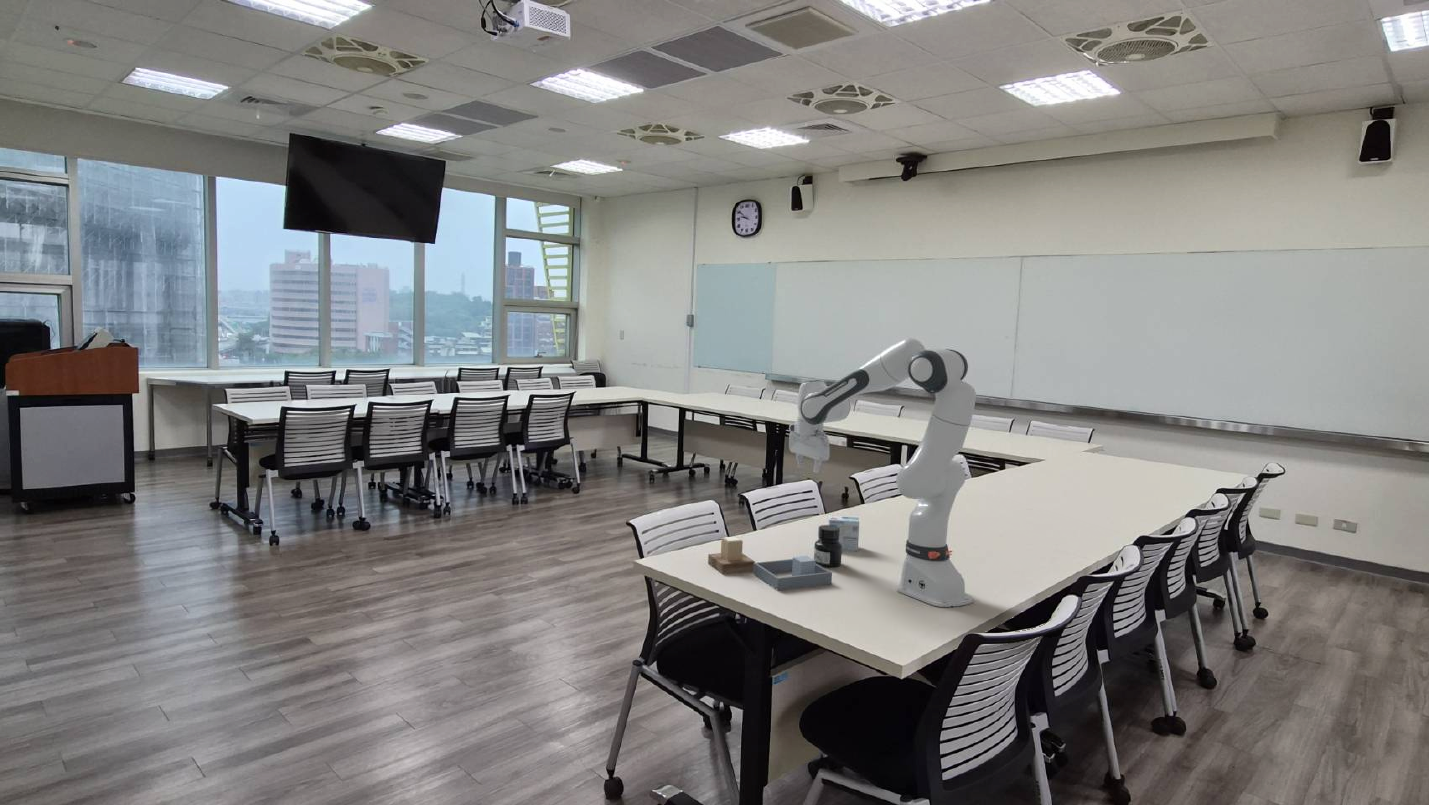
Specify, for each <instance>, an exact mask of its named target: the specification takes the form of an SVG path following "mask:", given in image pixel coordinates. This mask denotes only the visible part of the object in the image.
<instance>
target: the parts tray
mask: <svg viewBox="0 0 1429 805" xmlns="http://www.w3.org/2000/svg"><path fill="white" fill-rule="evenodd" d="M792 564H793V558H789V559H787V558H786V559H779V560H769V561H759V562H755V563H753V571H752V575H754V576H755V575H756V576H755V577H757V578H758V577H759V578H758V579H760V580H761V581H763V580H764V581H765V582H764V581H763V582H764V583H766V584H767V583H768V584H769V585H768V584H767V585H768V586H769V587H771V586H773V587H774V588H776V589H777V590H776V589H775V590H776V591H782V590H781V589H785V590H790V589H791V588H793V589H802V588H810V587H817V586H826V585H832V582H833V581H832V580H833V572H831V571H830V570H828V569H826V567H823V566H820V565H818V564H816V563H815V574H807V575H798V576H792V575H791V576H782V577H781V576H779V577H778V576H777V575H776V574H774V573H781V572H782V573H783V572H792ZM773 587H772V588H773ZM799 587H800V588H799ZM801 587H802V588H801ZM774 588H773V589H774ZM789 588H790V589H789ZM779 589H780V590H779Z"/></svg>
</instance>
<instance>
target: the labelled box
mask: <svg viewBox="0 0 1429 805" xmlns="http://www.w3.org/2000/svg"><path fill="white" fill-rule="evenodd" d="M720 542H721V544H720V545H721V546H720V547H721V548H720V553H721V557H723V558H724V559H726V560H727V561H731V560H741V559H742V553H743V540H742V539H740V538H739V537H737V536H726V537H724V536H723V537H721V541H720Z"/></svg>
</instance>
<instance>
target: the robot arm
mask: <svg viewBox="0 0 1429 805" xmlns="http://www.w3.org/2000/svg"><path fill="white" fill-rule="evenodd" d="M968 369H969V363H968V360H967V358H966V357H965V356H964V355H963V353H961V352H959V351H957V350H953V349H949V348H947V349H942V348H935V349H928V350H927V349H926V348H925V346H924V345H923V343H922V342H921V341H919V340H918V339H916V338H912V337H907V338H904V339H901V340H899V341H897V342H895V343H893V344H892V345H890V346H888V347H886V348H885V349H883V350H882V351H881V352H879V353H877V354H876V355H875V356H873V357H872V358H870V359H869V360H868V361H867V362H865V363H863V365H861V366H860V367H858V368H857V369H855V370H854V371H852V372H851V373H849V374H847V375H846V376H843V377H842V378H840V379H839V380H837V381H835V382H834V383H832V384H831V385H829V386H827V385H826V383H825V381H823V380H819V379H817V380H807V381H803V382H802V383H801V384H800V385H799V390H798V394H797V395H798V396H797V410H798V414H797V417H796V422H794V423H791V424H790V425H789V426H788V431H789V436H788V448H789V451H790V453H793V454H795V457H796V462H797V467H798V468H800V469H801V468H805V462H804V459H803V457H805V458H806V457H807V458H810V459H813V462H814V466H812V469H811V470H812V472H813V473H817V474H819V473H820V467H821V465H822V464H823V462H825V461H828V460H829V459H830V456H831V455H830V440H829V438H828V436H827V434H826V432H825V431H824V425H825V423H834V422H840V421H843V420H845V419H847V418H848V416H849V414H850V412H851V403H850V402H851V401H850V400H849V399H851V398H853V397H854V396H857V395H862V394H865V393H867V394H868V393H874V392H882V391H885V390H886V391H887V390H888V389H891V388H893V387H896V386H898V385H899V384H901V383H902V382H904V381H905V380H907V379H908V378H910V380H911V381H912V382H913V383H915V385H916V386H918V387H920V388H922V389H923V390H924V391H925V392H927V393H928V394H929V395H930V394H931V395H933V394H934V395H935V402H934V405H933V409H932V411H931V414H930V417H929V421H928V424H927V426H926V429H925V433H924V435H923V438H922V439H921V441H920V443H919V445H918V447H917V448H916V450H915V451H914V453H913V454H912V456H911V458H910V459H909V460H908V462H906V464H905V465H904V466H902V467H901V468H900V469H899V470H898V472H897V474H896V476H895V477H896V480H895V481H896V482H895V483H896V487H897V489H898V491H899V493H900V494H901V495H902V496H903V497H904V498H907V499H912V500H918V501H917V503H916V504H915V507H914V509H913V510H912V511H911V513H910V515H909V518H908V520H909V521H908V522H909V523H908V536H907V540H906V542H905V543H906V544H905V553H906V554H905V555H906V556H905V559H904V562H903V565H902V570H901V575H900V576H901V577H900V582H899V585H898V586H897V589H896V590H897V592H898V593H901V594H903V595H906V596H909V597H911V598H914V599H916V600H919V601H922V602H924V603H927V604H929V605H931V606H934V607H939V608H941V607H942V608H950V607H951V606H953V607H960V606H965V605H966V606H967V605H970V604H972V603H973V602H972V601H974V599H973V597H972V596H971V595H969V594H967V593H966V586H965V585H966V584H965V579H964V578H963V576H962V575H963V574H961V573H960V572H959V571H958V569H957V567H955V565H954V564H953V562H952V561H951V560H950V558H951V557H950V556H951V555H953V553H952V552H953V550H949V546H948V543H947V538H948V528H949V527H948V526H949V519H950V515H951V512H952V509H953V505H954V503H955V499H956V497H957V495H958V494H959V491H960V490H961V488H963V486H964V485H965V482H966V472H965V471H966V470H965V469H964V467H963V465H962V464H961V463H960V462H958V461H956V460H954V458H955V457H956V456H957V455H958V454H959V452H960V451H962V449H963V447H964V443H965V440H966V438H967V434H968V432H969V428H970V425H971V422H972V419H973V415H974V410H975V404H976V397H977V392H976V390H975V388H974V387H973V386H972V385H971V384H970V383H968V382H966V381H963V380H964V378H966V375H967V374H968V371H969V370H968ZM951 608H952V607H951Z"/></svg>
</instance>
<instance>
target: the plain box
mask: <svg viewBox="0 0 1429 805" xmlns="http://www.w3.org/2000/svg"><path fill="white" fill-rule="evenodd" d="M792 559H793V564H792V571H791V576H798V575H807V574H815V560H814V558H812V557H810V556H808V555H804V556H793V557H792Z"/></svg>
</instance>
